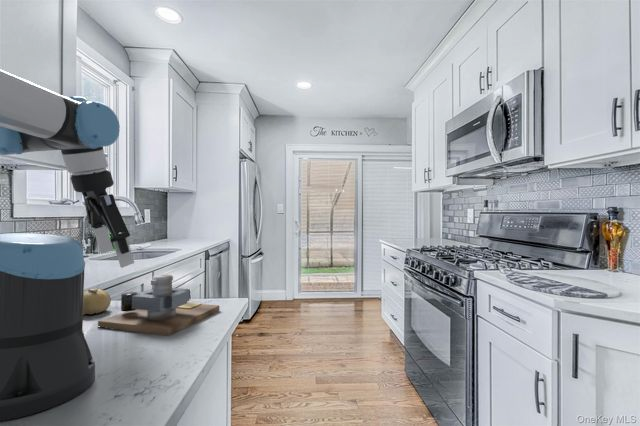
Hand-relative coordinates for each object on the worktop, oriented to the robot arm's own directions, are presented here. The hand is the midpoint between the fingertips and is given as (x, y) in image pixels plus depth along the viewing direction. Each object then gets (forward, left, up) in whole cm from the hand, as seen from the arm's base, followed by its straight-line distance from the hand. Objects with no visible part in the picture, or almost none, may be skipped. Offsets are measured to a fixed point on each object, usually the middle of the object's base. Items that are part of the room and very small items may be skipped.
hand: (116, 257), depth 78 cm
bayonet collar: (+5, -5, -14) cm, 16 cm away
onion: (+7, +15, -17) cm, 24 cm away
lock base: (+8, -7, -16) cm, 19 cm away
